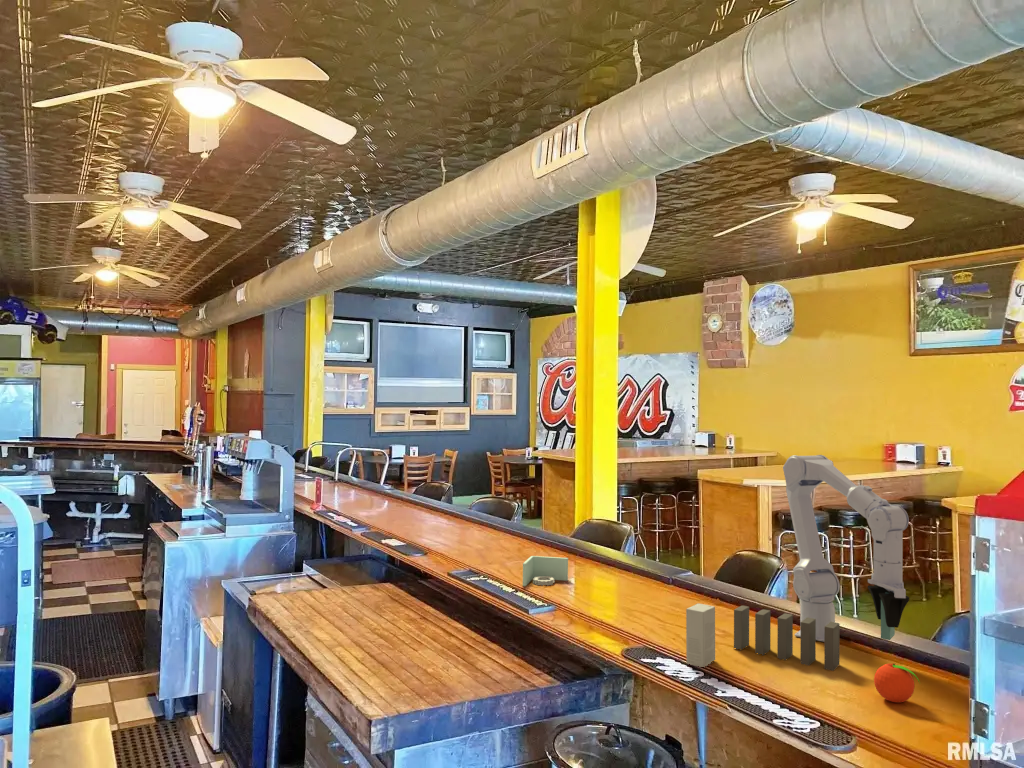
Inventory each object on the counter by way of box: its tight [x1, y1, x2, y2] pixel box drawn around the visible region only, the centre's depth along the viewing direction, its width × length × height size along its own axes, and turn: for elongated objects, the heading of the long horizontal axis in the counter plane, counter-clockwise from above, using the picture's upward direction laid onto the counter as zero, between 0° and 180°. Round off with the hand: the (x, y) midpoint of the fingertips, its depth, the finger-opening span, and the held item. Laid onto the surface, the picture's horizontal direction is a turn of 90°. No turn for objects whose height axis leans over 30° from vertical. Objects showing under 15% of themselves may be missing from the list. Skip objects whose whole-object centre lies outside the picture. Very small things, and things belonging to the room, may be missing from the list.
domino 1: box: [733, 605, 750, 651], centre depth 173 cm, size 2×5×9 cm, turn 142°
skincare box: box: [685, 603, 716, 668], centre depth 162 cm, size 6×4×12 cm
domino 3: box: [776, 612, 794, 661], centre depth 167 cm, size 2×5×9 cm, turn 142°
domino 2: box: [754, 608, 771, 656], centre depth 170 cm, size 2×5×9 cm, turn 142°
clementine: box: [873, 663, 921, 703], centre depth 142 cm, size 8×7×7 cm
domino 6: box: [880, 593, 896, 641], centre depth 163 cm, size 2×5×9 cm, turn 142°
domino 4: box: [799, 617, 817, 666], centre depth 164 cm, size 2×5×9 cm, turn 142°
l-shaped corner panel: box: [522, 555, 569, 587], centre depth 232 cm, size 12×12×8 cm
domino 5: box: [823, 621, 840, 672], centre depth 160 cm, size 2×5×9 cm, turn 142°
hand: (887, 623), depth 163 cm, fingers closed on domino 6, 5 cm apart
